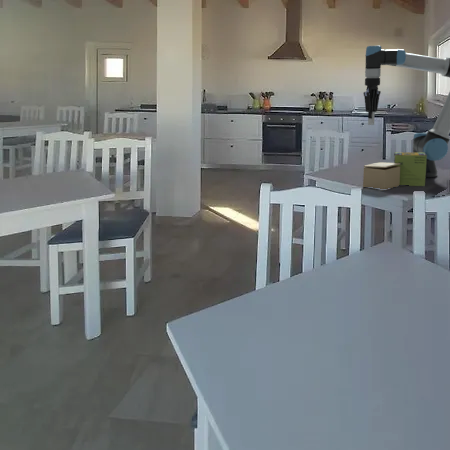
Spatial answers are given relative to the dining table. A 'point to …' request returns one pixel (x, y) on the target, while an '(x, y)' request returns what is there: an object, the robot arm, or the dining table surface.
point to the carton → (381, 177)
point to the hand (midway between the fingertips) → (371, 124)
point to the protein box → (411, 168)
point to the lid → (382, 165)
